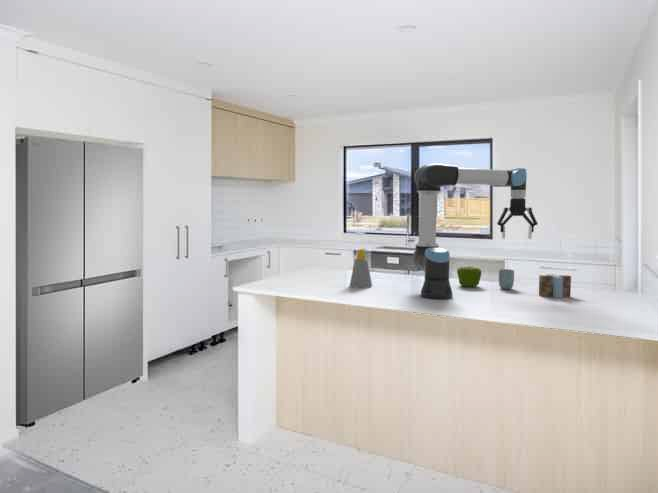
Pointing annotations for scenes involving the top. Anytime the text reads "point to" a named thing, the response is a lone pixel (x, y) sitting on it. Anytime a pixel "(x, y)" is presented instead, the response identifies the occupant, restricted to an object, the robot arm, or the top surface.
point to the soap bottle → (361, 272)
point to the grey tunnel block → (557, 285)
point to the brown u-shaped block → (547, 289)
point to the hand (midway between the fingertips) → (516, 238)
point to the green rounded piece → (469, 276)
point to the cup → (506, 278)
